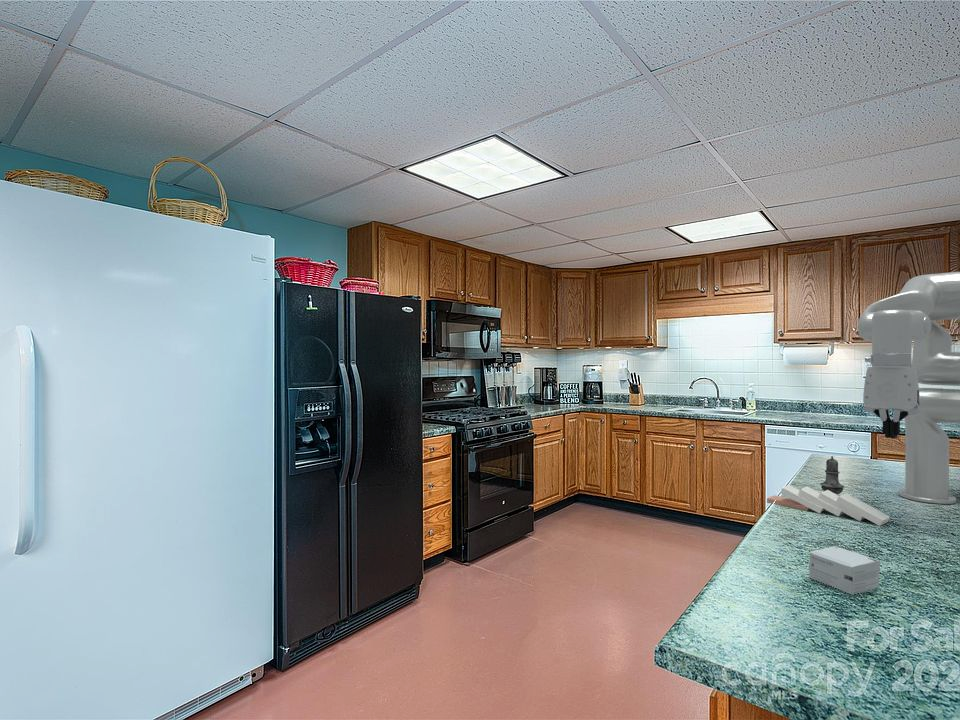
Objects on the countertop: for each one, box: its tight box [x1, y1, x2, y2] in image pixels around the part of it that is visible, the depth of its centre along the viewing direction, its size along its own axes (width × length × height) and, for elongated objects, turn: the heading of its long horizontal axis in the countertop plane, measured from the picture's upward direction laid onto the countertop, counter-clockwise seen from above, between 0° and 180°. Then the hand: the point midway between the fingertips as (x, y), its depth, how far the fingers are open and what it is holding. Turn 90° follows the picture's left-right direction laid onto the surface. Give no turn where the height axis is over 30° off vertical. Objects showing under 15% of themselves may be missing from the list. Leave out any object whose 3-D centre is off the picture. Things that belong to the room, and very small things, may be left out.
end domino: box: [766, 494, 811, 512], centre depth 142 cm, size 5×2×10 cm
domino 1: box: [779, 484, 825, 514], centre depth 139 cm, size 5×2×10 cm
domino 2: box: [798, 485, 845, 517], centre depth 136 cm, size 5×2×10 cm
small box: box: [808, 545, 881, 596], centre depth 93 cm, size 8×8×5 cm
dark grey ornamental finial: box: [819, 455, 845, 496], centre depth 150 cm, size 6×6×12 cm
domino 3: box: [818, 490, 866, 522], centre depth 133 cm, size 5×2×10 cm
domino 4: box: [836, 493, 891, 527], centre depth 129 cm, size 5×2×10 cm
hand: (891, 437), depth 125 cm, fingers closed
